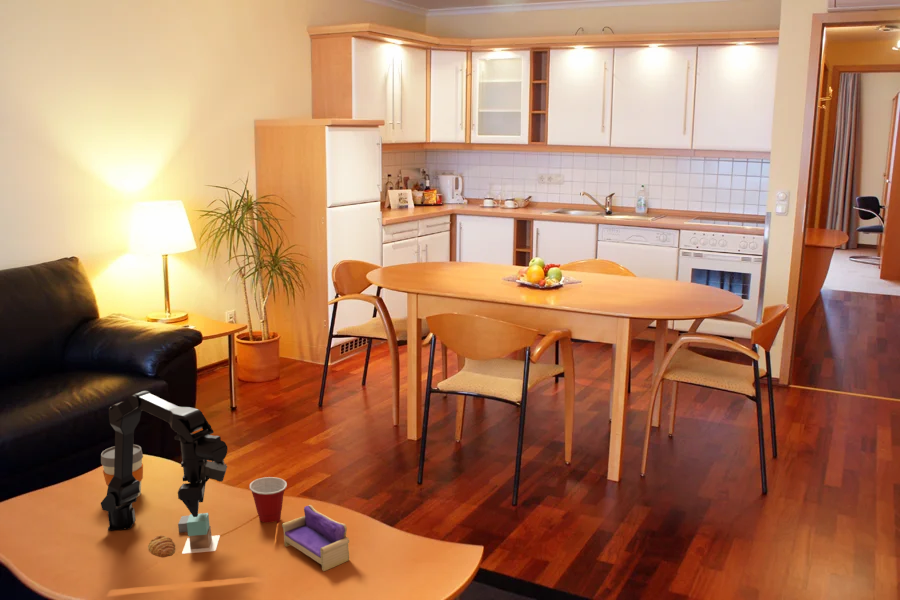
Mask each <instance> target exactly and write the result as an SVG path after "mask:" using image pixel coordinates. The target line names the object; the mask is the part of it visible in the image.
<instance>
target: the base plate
mask: <svg viewBox="0 0 900 600" xmlns="http://www.w3.org/2000/svg"><path fill="white" fill-rule="evenodd" d="M211 536H212V540H211V543H210V547H209V548H201V549H190V539H189V537H187V539H186V541H185V542H184V543H185V544H184V546H183V549H182V551H181V554H182V555H184V554H185V555H186V554H194V553H206V552H216V550H217V549H218V544H219V540H220V537H221V535H219V534H218V535H217V534H216V535H211Z"/></svg>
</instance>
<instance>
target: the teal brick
mask: <svg viewBox="0 0 900 600" xmlns="http://www.w3.org/2000/svg"><path fill="white" fill-rule="evenodd" d="M188 516H189V518H188V521H187V530H188V532H187V536H188V537H189V536H195V535H207V533H208V530H209V527H210V526H211V525H210V516H209V512H203V513H198V516H197V517H193V515H192V514H191V513H190V514H189V515H188Z"/></svg>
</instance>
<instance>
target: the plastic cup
mask: <svg viewBox="0 0 900 600" xmlns="http://www.w3.org/2000/svg"><path fill="white" fill-rule="evenodd" d="M287 485H288V484H287V481H286V480H284V479H283V478H280V477H276V476H275V477H273V476H268V477H267V476H266V477H265V476H264V477H260V478H256V479H254V480H253V481H251V482H250V483H249V490H250V492H251V494H252V497H253V500H254V504H255V509H256V512H257V515H258V516H257V517H258V518H259V521H260V522H261V523H273V522H276V524H279V523H280V521H281V518H282V517H281V516H282V511H283V510H282V509H283V501H284V494H285V490H286V488H287V487H288V486H287Z"/></svg>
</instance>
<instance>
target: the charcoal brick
mask: <svg viewBox="0 0 900 600" xmlns="http://www.w3.org/2000/svg"><path fill="white" fill-rule="evenodd" d="M189 516H190V515H181V517H180V518H179V522H177V525H178V526H177V527H178V533H188V530H187V521H188V518H189Z"/></svg>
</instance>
